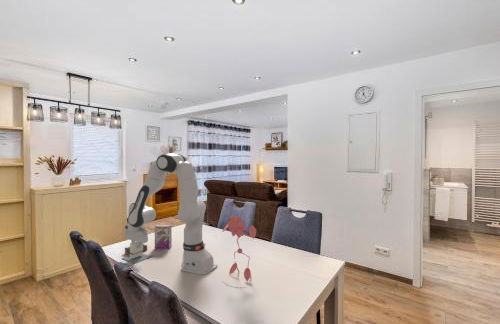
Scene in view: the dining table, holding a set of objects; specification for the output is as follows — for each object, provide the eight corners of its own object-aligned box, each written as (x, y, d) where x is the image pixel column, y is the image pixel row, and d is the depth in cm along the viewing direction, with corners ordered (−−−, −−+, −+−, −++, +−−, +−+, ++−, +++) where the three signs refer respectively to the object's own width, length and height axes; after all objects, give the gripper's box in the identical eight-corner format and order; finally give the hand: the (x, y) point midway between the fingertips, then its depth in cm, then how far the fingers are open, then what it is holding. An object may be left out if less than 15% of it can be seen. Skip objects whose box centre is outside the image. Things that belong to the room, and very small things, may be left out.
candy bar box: (154, 248, 172) (154, 226, 172) (157, 246, 177) (157, 224, 177) (169, 249, 171) (168, 226, 171) (172, 246, 176) (171, 224, 176)
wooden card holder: (147, 250, 169) (147, 244, 169) (131, 255, 159) (131, 250, 159) (140, 247, 174) (140, 242, 174) (124, 253, 164) (124, 247, 164)
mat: (151, 256, 158) (151, 256, 158) (134, 263, 147) (134, 263, 147) (138, 252, 165) (138, 252, 165) (121, 258, 155) (121, 258, 155)
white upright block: (143, 254, 158) (143, 241, 158) (133, 258, 152) (133, 244, 152) (140, 253, 160) (139, 240, 160) (130, 257, 154) (129, 243, 154)
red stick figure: (229, 267, 142) (228, 209, 140) (263, 281, 124) (262, 216, 123) (209, 277, 130) (208, 214, 129) (244, 295, 113) (242, 222, 112)
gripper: (150, 227, 153) (150, 248, 153) (131, 223, 164) (132, 243, 164) (141, 230, 148) (141, 252, 148) (123, 225, 159) (123, 246, 159)
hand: (136, 247), depth 156 cm, fingers closed on white upright block, 3 cm apart
